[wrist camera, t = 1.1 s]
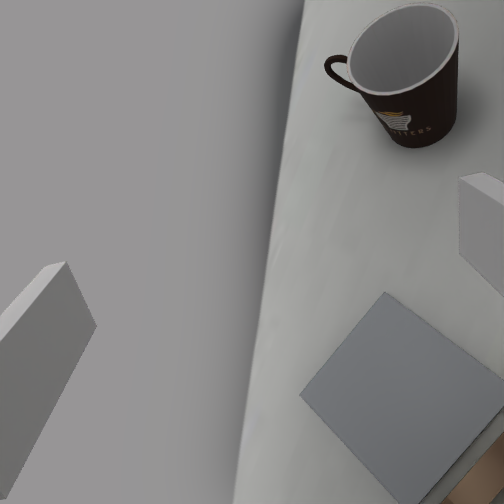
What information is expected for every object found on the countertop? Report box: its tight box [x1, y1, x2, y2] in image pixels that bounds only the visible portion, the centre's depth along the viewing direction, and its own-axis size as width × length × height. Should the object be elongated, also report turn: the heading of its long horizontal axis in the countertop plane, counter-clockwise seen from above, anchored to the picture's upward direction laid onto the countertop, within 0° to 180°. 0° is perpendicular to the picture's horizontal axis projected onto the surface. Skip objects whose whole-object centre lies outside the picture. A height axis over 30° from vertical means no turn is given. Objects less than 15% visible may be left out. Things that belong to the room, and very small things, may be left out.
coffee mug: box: [324, 3, 459, 148], centre depth 39 cm, size 12×9×10 cm
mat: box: [300, 292, 504, 504], centre depth 35 cm, size 12×12×1 cm
